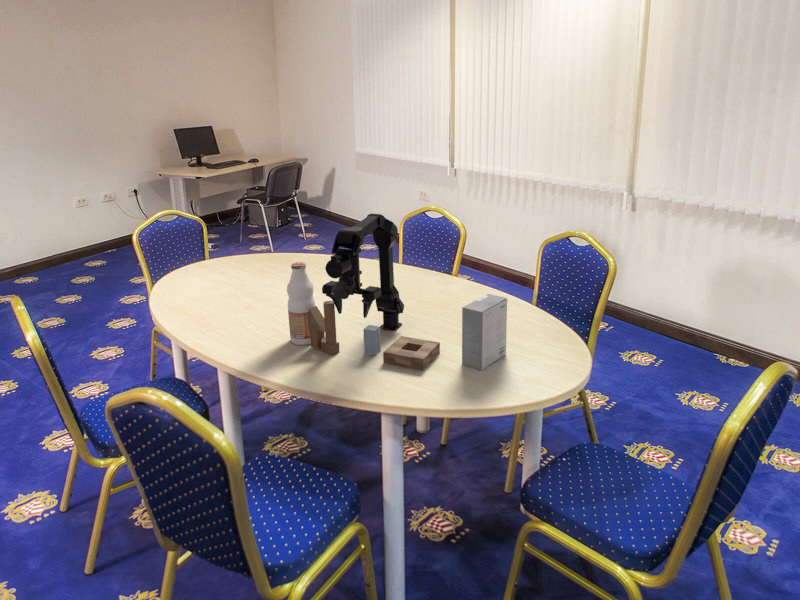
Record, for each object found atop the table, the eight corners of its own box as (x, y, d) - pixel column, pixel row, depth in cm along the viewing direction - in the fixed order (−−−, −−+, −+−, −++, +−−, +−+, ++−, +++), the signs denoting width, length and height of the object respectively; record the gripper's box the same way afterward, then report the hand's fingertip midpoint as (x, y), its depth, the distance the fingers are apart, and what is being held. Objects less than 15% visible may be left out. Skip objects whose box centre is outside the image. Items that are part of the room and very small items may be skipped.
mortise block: (401, 346, 215) (401, 335, 214) (439, 353, 210) (439, 342, 208) (383, 363, 203) (383, 351, 202) (423, 370, 198) (423, 359, 196)
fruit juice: (291, 347, 217) (285, 269, 207) (289, 336, 225) (283, 261, 216) (319, 343, 219) (314, 266, 209) (315, 333, 227) (310, 259, 218)
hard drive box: (486, 348, 213) (488, 293, 206) (506, 354, 208) (509, 297, 201) (460, 364, 201) (461, 306, 195) (481, 371, 197) (482, 311, 190)
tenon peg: (369, 349, 214) (369, 324, 211) (380, 351, 212) (379, 326, 209) (364, 354, 210) (363, 329, 207) (375, 355, 209) (374, 330, 206)
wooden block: (318, 343, 219) (315, 295, 213) (339, 352, 212) (337, 302, 206) (310, 347, 216) (307, 297, 210) (331, 355, 209) (328, 305, 203)
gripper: (311, 273, 195) (314, 320, 200) (364, 280, 187) (366, 328, 193) (329, 263, 204) (332, 308, 210) (381, 269, 197) (382, 316, 202)
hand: (352, 315), depth 203 cm, fingers open, 9 cm apart
